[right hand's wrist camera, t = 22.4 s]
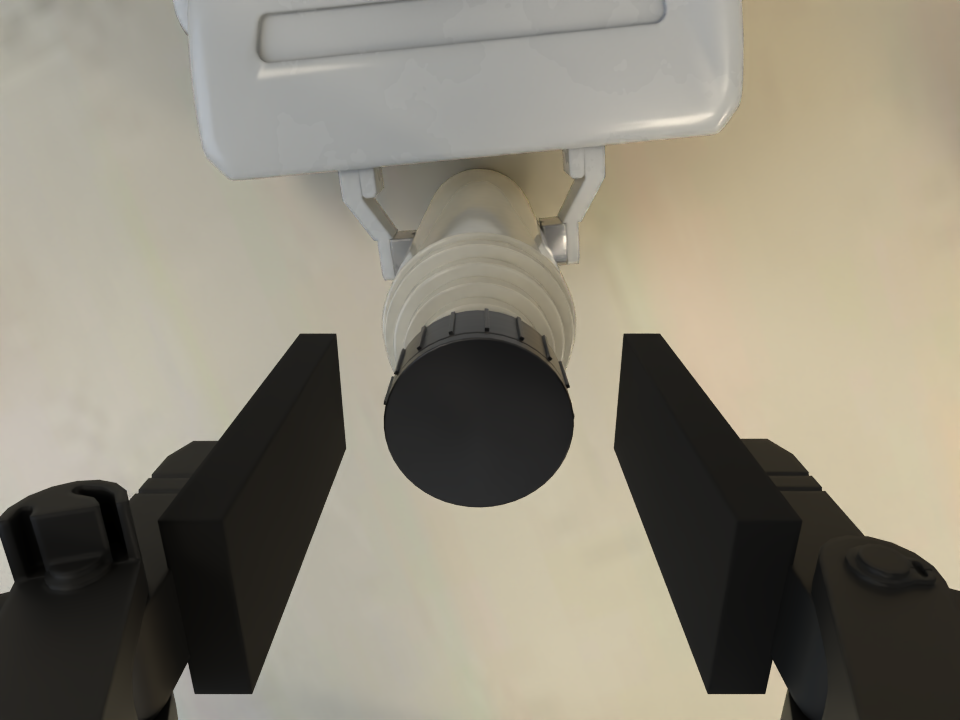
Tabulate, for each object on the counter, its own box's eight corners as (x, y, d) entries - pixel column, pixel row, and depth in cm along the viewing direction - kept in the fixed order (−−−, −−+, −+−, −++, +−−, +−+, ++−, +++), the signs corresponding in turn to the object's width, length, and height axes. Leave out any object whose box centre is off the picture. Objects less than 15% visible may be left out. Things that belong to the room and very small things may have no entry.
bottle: (519, 156, 32) (585, 255, 12) (541, 260, 34) (630, 496, 14) (414, 183, 33) (309, 321, 13) (442, 284, 35) (389, 545, 14)
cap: (495, 494, 15) (497, 541, 14) (358, 406, 14) (342, 445, 13) (600, 374, 14) (617, 410, 13) (458, 272, 13) (456, 296, 12)
